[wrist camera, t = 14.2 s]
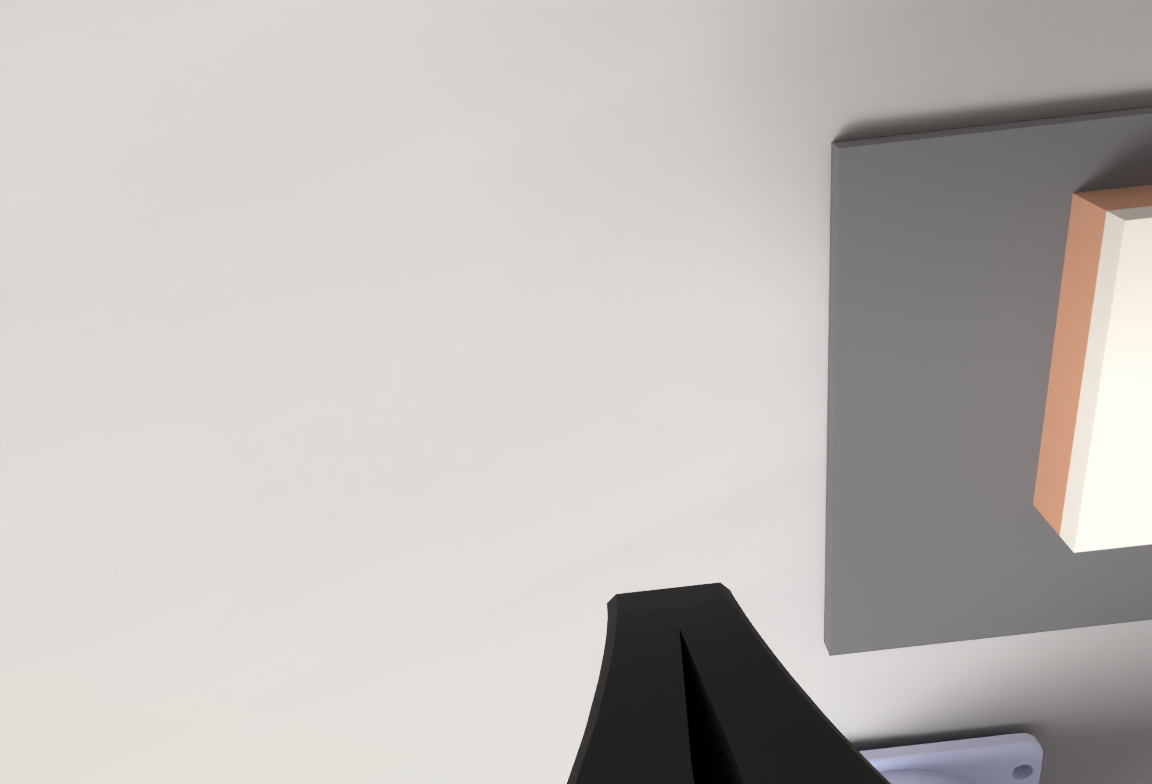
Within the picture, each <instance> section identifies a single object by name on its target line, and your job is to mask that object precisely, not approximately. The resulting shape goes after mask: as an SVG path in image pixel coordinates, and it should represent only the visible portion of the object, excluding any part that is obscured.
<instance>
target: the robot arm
mask: <svg viewBox="0 0 1152 784" xmlns="http://www.w3.org/2000/svg"><path fill="white" fill-rule="evenodd" d="M607 609H608V623H607V635H606V643H605V650H604V655H603V661H602V666H601V671H600V676H599V680H598V684H597V688H596V692H595V696H594V699H593V703H592V707H591V711H590V715H589V718H588V722H587V726H586V729H585V732H584V736H583V739H582V742H581V745H580V748H579V750H578V753H577V756H576V759H575V762H574V765H573V768H572V771H571V774H570V776H569V779H568V782H567V784H1039V779H1040V773H1041V766H1042V759H1043V749H1042V747H1041V745H1040V744H1039V742H1038V741H1037V739H1036V738H1035V737H1034V736H1033V735H1030V734H1028V733H1015V734H1007V735H998V736H989V737H980V738H971V739H962V740H953V741H944V742H935V743H927V744H918V745H909V746H900V747H891V748H882V749H873V750H864V751H858V750H857V749H856V748H855V747H854V746H853V745H852V744H851V743H850V742H849V741H848V740H847V739H846V738H845V737H844V735H843V734H842V733H841V732H840V731H839V730H838V729H837V728H836V727H835V726H834V725H833V723H832V722H831V721H830V720H829V719H828V718H827V717H826V716H825V715H824V714H823V712H822V711H821V710H820V709H819V708H818V707H817V705H816V704H815V703H814V702H813V701H812V700H811V698H810V697H809V696H808V695H807V694H806V692H805V691H804V690H803V689H802V688H801V687H800V685H799V684H798V683H797V682H796V681H795V680H794V678H793V677H792V676H791V675H790V674H789V672H788V671H787V670H786V669H785V667H784V666H783V665H782V664H781V662H780V661H779V660H778V659H777V657H776V656H775V655H774V653H773V652H772V651H771V649H770V648H769V647H768V645H767V644H766V643H765V641H764V640H763V639H762V638H761V636H760V635H759V633H758V632H757V631H756V629H755V628H754V626H753V625H752V624H751V622H750V621H749V619H748V618H747V616H746V615H745V614H744V612H743V610H742V609H741V607H740V606H739V604H738V603H737V601H736V600H735V598H734V596H733V595H732V593H731V591H730V590H729V589H728V588H726V587H725V586H724V585H723V584H721V583H712V584H703V585H694V586H686V587H677V588H668V589H659V590H650V591H641V592H632V593H623V594H616V595H615V596H614V597H613V598H612V599H611V600H610V601H609V602H608V603H607ZM1020 765H1021V766H1020Z"/></svg>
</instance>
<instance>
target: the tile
mask: <svg viewBox="0 0 1152 784" xmlns="http://www.w3.org/2000/svg"><path fill="white" fill-rule="evenodd" d="M1033 506H1034V507H1035V508H1036V509H1037V510H1038V511H1039V513H1040V514H1041V515H1042V516H1043V517H1044V518H1045V520H1046V521H1047V522H1048V523H1049V524H1050V525H1051V527H1052V528H1053V529H1054V530H1055V531H1056V532H1057V534H1058V535H1059V536H1060V537H1061V538H1062V540H1063V541H1064V542H1065V543H1066V544H1067V545H1068V547H1069V548H1070V549H1071V550H1072V551H1073V552H1074V553H1077V552H1086V551H1095V550H1104V549H1113V548H1122V547H1131V546H1140V545H1149V544H1152V185H1143V186H1134V187H1125V188H1116V189H1107V190H1098V191H1089V192H1080V193H1073V196H1072V203H1071V211H1070V219H1069V227H1068V235H1067V242H1066V250H1065V258H1064V266H1063V274H1062V281H1061V289H1060V297H1059V305H1058V313H1057V321H1056V328H1055V336H1054V344H1053V352H1052V360H1051V367H1050V375H1049V383H1048V391H1047V399H1046V407H1045V414H1044V422H1043V430H1042V438H1041V446H1040V453H1039V461H1038V469H1037V477H1036V485H1035V492H1034V500H1033Z"/></svg>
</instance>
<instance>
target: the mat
mask: <svg viewBox="0 0 1152 784" xmlns="http://www.w3.org/2000/svg"><path fill="white" fill-rule="evenodd" d="M1143 185H1152V107H1144V108H1135V109H1126V110H1117V111H1108V112H1100V113H1091V114H1082V115H1073V116H1064V117H1055V118H1046V119H1037V120H1028V121H1019V122H1011V123H1002V124H993V125H984V126H975V127H966V128H957V129H948V130H939V131H930V132H921V133H913V134H904V135H895V136H886V137H877V138H868V139H859V140H850V141H841V142H832V148H831V215H830V281H829V348H828V415H827V481H826V548H825V614H824V643H825V645H826V647H827V650H828V652H829V655H830V656H831V655H840V654H849V653H858V652H867V651H876V650H884V649H893V648H902V647H911V646H920V645H929V644H938V643H947V642H956V641H964V640H973V639H982V638H991V637H1000V636H1009V635H1018V634H1027V633H1036V632H1044V631H1053V630H1062V629H1071V628H1080V627H1089V626H1098V625H1107V624H1115V623H1124V622H1133V621H1142V620H1151V619H1152V544H1149V545H1140V546H1131V547H1122V548H1113V549H1104V550H1095V551H1086V552H1077V553H1074V552H1073V551H1072V550H1071V549H1070V548H1069V547H1068V545H1067V544H1066V543H1065V542H1064V541H1063V540H1062V538H1061V537H1060V536H1059V535H1058V534H1057V532H1056V531H1055V530H1054V529H1053V528H1052V527H1051V525H1050V524H1049V523H1048V522H1047V521H1046V520H1045V518H1044V517H1043V516H1042V515H1041V514H1040V513H1039V511H1038V510H1037V509H1036V508H1035V507H1034V506H1033V500H1034V492H1035V485H1036V477H1037V469H1038V461H1039V453H1040V446H1041V438H1042V430H1043V422H1044V414H1045V407H1046V399H1047V391H1048V383H1049V375H1050V367H1051V360H1052V352H1053V344H1054V336H1055V328H1056V321H1057V313H1058V305H1059V297H1060V289H1061V281H1062V274H1063V266H1064V258H1065V250H1066V242H1067V235H1068V227H1069V219H1070V211H1071V203H1072V196H1073V193H1080V192H1089V191H1098V190H1107V189H1116V188H1125V187H1134V186H1143Z"/></svg>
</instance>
